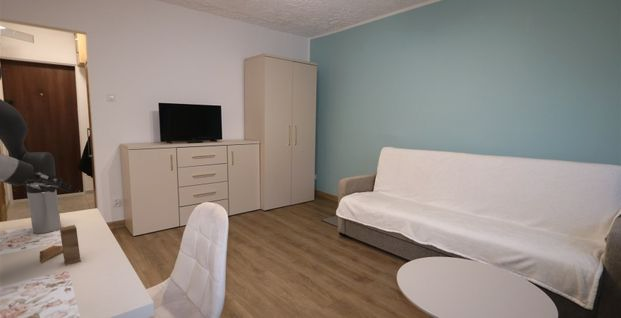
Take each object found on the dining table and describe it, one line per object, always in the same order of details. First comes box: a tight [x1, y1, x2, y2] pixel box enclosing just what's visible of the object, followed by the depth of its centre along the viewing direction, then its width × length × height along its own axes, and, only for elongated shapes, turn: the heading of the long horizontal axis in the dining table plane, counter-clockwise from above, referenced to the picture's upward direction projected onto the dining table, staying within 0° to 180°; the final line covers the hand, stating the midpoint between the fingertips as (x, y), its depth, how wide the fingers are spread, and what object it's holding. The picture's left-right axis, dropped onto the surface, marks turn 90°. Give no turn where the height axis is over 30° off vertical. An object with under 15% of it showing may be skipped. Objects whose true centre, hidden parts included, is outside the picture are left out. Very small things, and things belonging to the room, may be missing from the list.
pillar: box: [59, 224, 82, 266], centre depth 104 cm, size 4×4×12 cm
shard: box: [39, 245, 63, 264], centre depth 109 cm, size 11×8×2 cm
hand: (62, 189), depth 107 cm, fingers open, 8 cm apart
